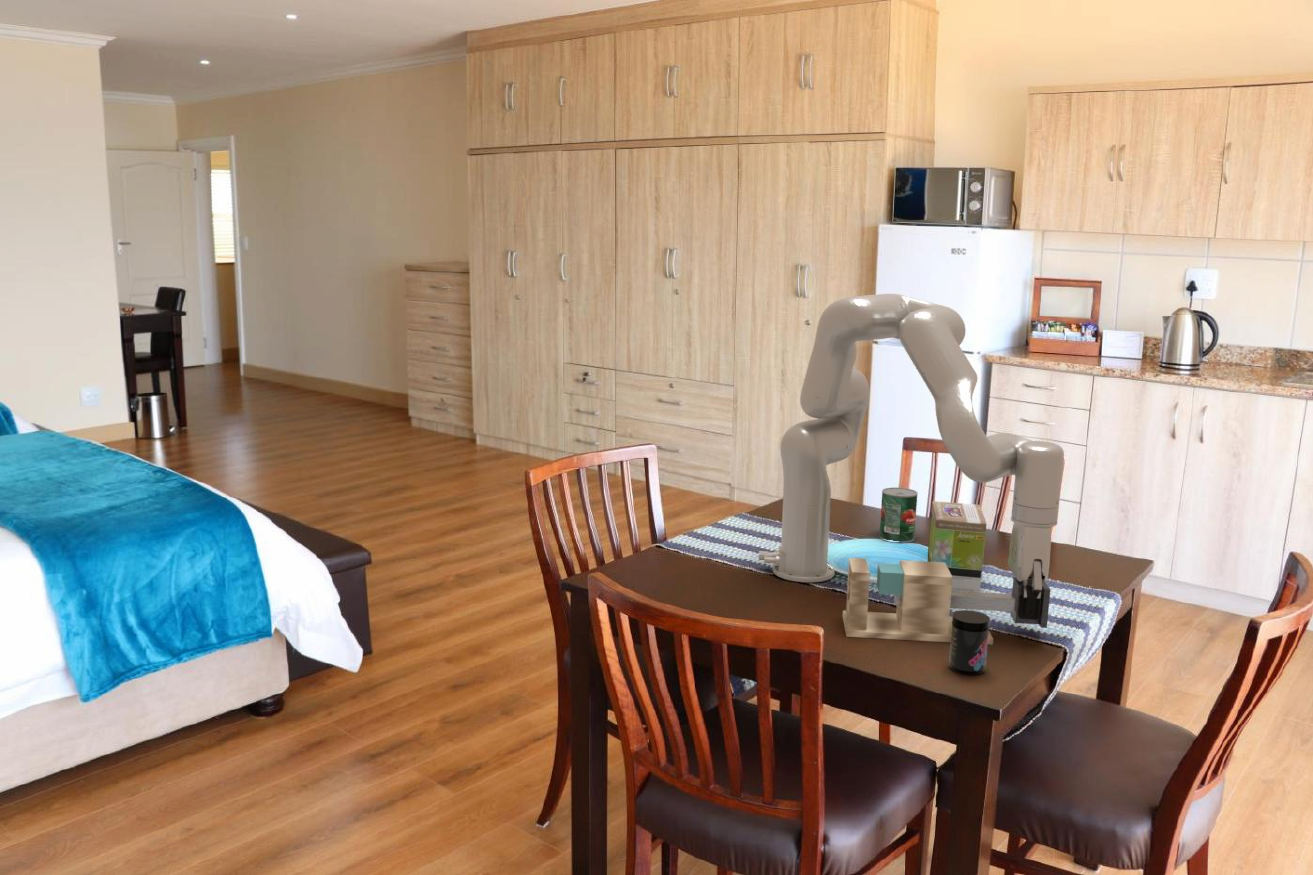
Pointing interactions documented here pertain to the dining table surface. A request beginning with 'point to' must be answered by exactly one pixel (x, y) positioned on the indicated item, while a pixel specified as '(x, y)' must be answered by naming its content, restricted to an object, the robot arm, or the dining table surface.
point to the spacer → (890, 579)
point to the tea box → (958, 542)
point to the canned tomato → (898, 514)
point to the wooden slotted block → (903, 604)
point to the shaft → (999, 602)
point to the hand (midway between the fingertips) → (1025, 612)
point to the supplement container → (969, 642)
